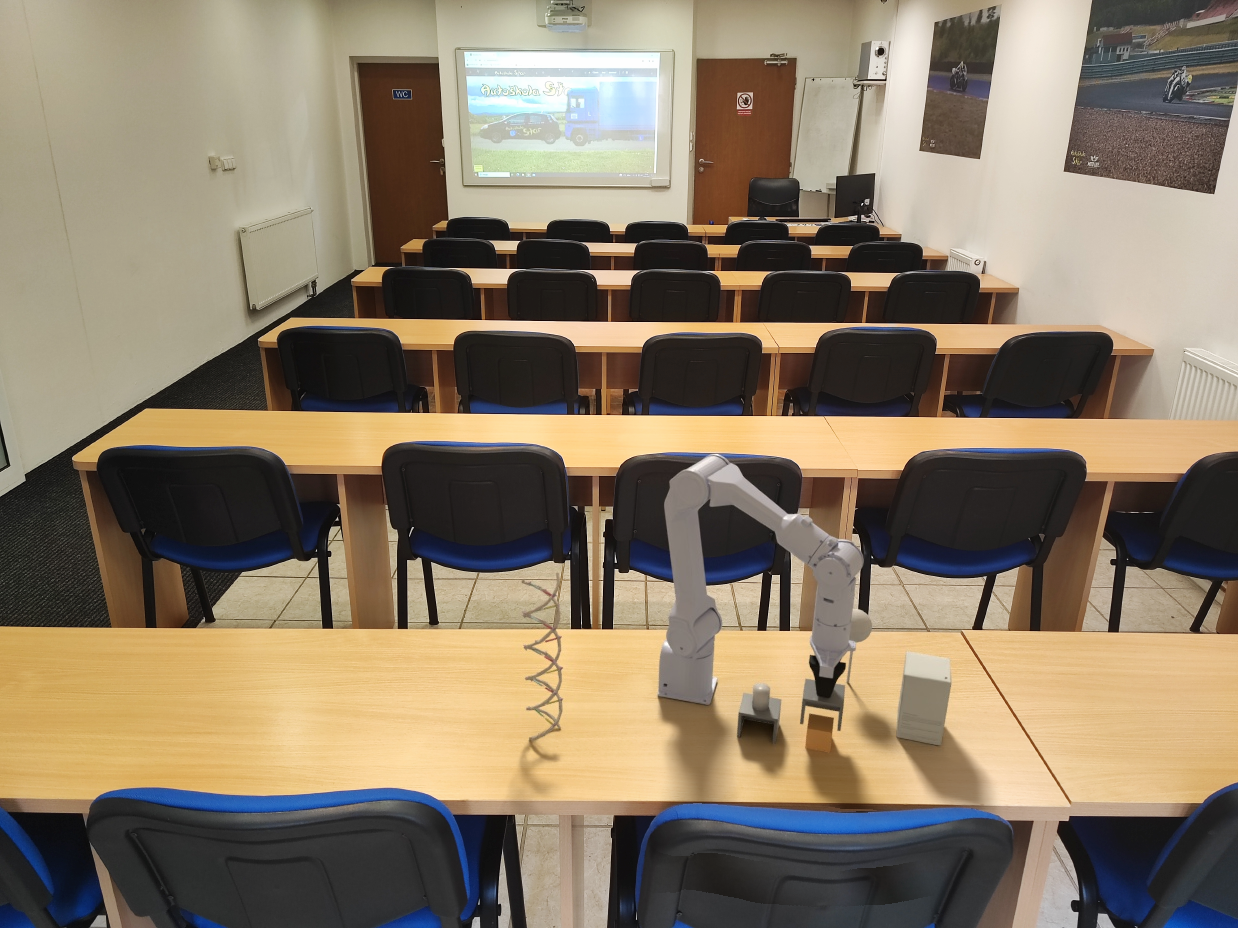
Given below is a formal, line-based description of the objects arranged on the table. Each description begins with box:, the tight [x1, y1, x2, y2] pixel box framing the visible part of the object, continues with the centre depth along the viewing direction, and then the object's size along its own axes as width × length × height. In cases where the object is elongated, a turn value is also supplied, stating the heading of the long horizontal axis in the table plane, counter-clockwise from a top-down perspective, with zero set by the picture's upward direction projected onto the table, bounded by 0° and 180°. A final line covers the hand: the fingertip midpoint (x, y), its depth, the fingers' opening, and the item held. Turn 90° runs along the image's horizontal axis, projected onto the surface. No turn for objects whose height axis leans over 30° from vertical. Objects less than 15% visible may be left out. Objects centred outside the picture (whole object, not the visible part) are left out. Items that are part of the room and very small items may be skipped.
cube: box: [804, 713, 835, 753], centre depth 145 cm, size 4×4×4 cm
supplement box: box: [896, 651, 952, 746], centre depth 147 cm, size 7×7×13 cm
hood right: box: [799, 678, 846, 732], centre depth 143 cm, size 6×6×8 cm
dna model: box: [521, 572, 564, 741], centre depth 142 cm, size 7×6×30 cm
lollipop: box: [846, 608, 873, 684], centre depth 158 cm, size 6×6×15 cm
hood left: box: [736, 682, 782, 745], centre depth 147 cm, size 6×6×8 cm
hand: (824, 689), depth 142 cm, fingers closed on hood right, 3 cm apart
